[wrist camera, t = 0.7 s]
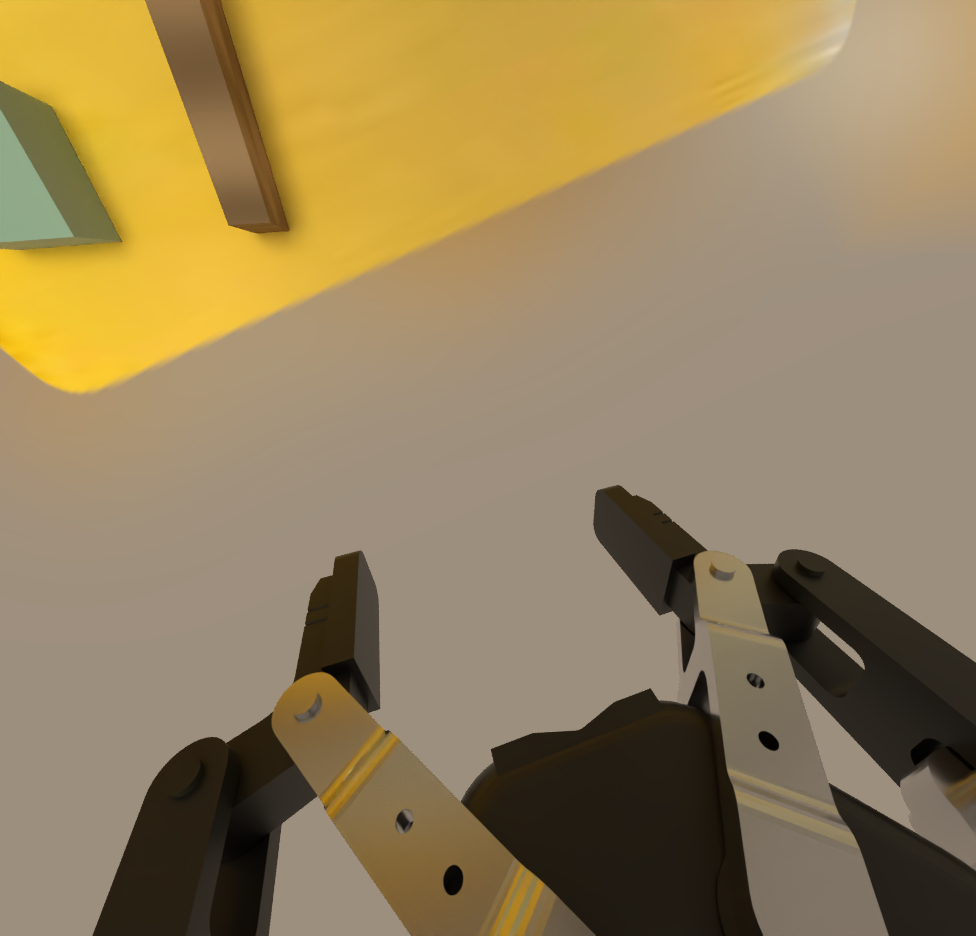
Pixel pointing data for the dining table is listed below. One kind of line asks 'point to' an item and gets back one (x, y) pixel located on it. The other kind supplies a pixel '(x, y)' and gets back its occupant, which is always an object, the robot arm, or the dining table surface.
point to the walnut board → (219, 110)
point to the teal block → (44, 181)
